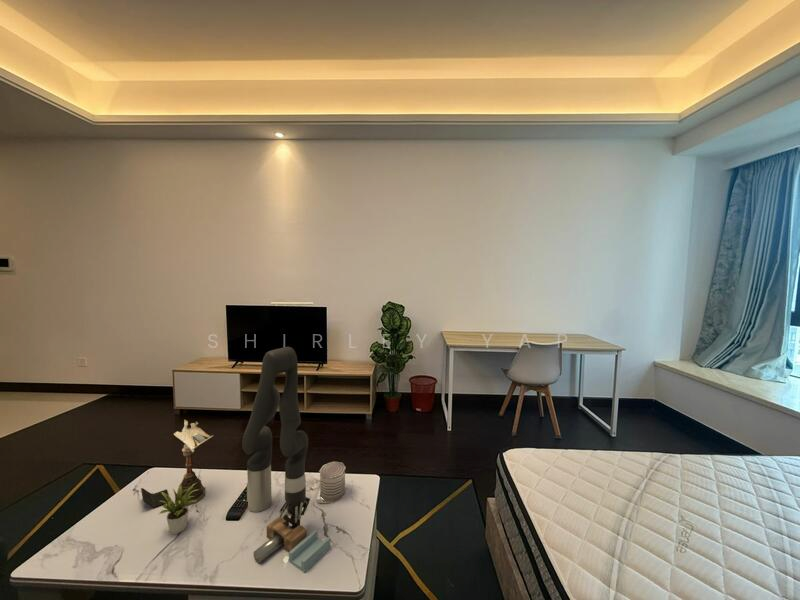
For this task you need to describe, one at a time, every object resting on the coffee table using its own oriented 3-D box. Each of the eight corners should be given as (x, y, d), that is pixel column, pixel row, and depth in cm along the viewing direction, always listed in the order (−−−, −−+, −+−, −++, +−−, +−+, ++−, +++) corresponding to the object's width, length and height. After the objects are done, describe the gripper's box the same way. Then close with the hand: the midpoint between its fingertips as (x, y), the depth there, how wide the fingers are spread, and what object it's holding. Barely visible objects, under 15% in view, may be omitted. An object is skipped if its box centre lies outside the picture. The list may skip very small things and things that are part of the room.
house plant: (207, 529, 126) (205, 488, 125) (163, 550, 115) (161, 506, 114) (195, 511, 135) (194, 473, 134) (154, 529, 125) (152, 488, 124)
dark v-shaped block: (176, 496, 142) (157, 484, 138) (161, 513, 138) (141, 502, 133) (167, 489, 149) (149, 478, 145) (153, 505, 145) (134, 495, 140)
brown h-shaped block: (266, 537, 122) (266, 523, 121) (282, 525, 128) (282, 511, 127) (291, 554, 114) (291, 539, 114) (307, 541, 120) (306, 526, 120)
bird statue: (223, 490, 149) (221, 415, 147) (200, 510, 136) (197, 428, 134) (193, 485, 153) (191, 411, 151) (168, 503, 140) (165, 423, 138)
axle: (260, 565, 110) (260, 553, 110) (253, 560, 112) (253, 549, 112) (294, 537, 121) (294, 527, 121) (287, 534, 124) (287, 523, 124)
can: (349, 496, 145) (349, 470, 144) (325, 506, 139) (325, 479, 138) (339, 483, 155) (339, 458, 154) (315, 491, 148) (315, 466, 147)
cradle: (288, 561, 111) (288, 551, 111) (315, 538, 121) (315, 529, 121) (304, 572, 107) (304, 562, 107) (330, 547, 117) (330, 538, 117)
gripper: (302, 473, 131) (302, 515, 132) (273, 491, 120) (274, 536, 121) (315, 479, 127) (316, 522, 128) (287, 499, 116) (288, 545, 117)
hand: (296, 529), depth 124 cm, fingers closed
